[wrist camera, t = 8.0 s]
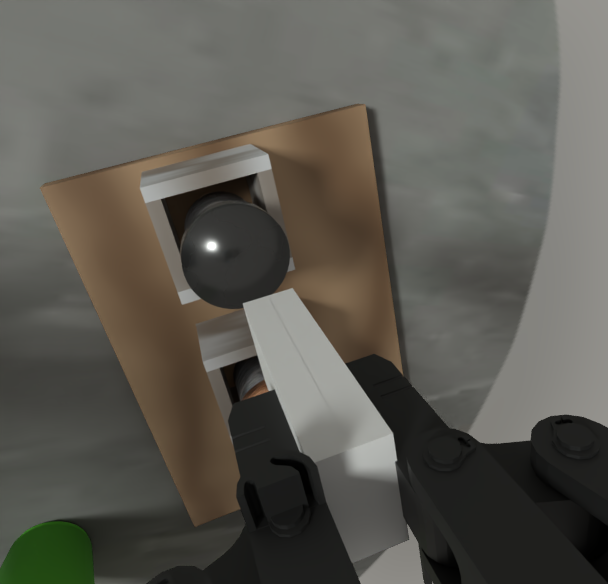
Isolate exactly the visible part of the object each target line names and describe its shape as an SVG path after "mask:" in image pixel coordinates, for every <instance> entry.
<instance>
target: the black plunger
mask: <svg viewBox="0 0 608 584" xmlns="http://www.w3.org/2000/svg"><path fill="white" fill-rule="evenodd" d="M184 230H185V232H184V234H183V237H182V241H181V247H180V257H181V264H182V269H183V273H184V276H185V279H186V281H187V283H188V285H189V286H190V288H191V289H192V290H193V291H194V293H195V294H196V295H197V296H199V297H200V298H201V299H202V300H204V301H205V302H207V303H209V304H211V305H214V306H216V307H220V308H225V309H242V308H244V307H243V303H246V302H249V301H252V300H255V299H259V298H262V297H265V296H268V295H272V294H273V293H274V292H275V291H276V290H277V289H278V288H279V286H280V285H281V283H282V282H283V280H284V278H285V276H286V273H287V271H288V267H289V262H290V249H289V243H288V240H287V237H286V235H285V233H284V231H283V230H282V228H281V226H280V225H279V224H278V223H277V222H276V221H275V220H274V218H273V217H272V216H271V215H270V214H268V213H267V212H266V211H265V210H263V209H262V208H260V207H259V206H257V205H254V204H252V203H249V202H246V201H245V200H244V199H243V198H241V197H240V196H238V195H236V194H233V193H230V192H222V191H220V192H212V193H209V194H206V195H204V196H202V197H201V198H199V199H198V200H197V201H196V202H194V204H193V205H192V206H191V207H190V209H189V211H188V213H187V215H186V218H185V223H184Z"/></svg>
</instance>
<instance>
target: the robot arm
mask: <svg viewBox="0 0 608 584" xmlns="http://www.w3.org/2000/svg"><path fill="white" fill-rule="evenodd" d="M243 307H244V310H245V314H246V317H247V321H248V324H249V328H250V331H251V335H252V338H253V341H254V345H255V348H256V352H257V355H258V359H259V362H260V366H261V369H262V373H263V376H264V380H265V382H266V385H267V388H268V390H269V391H268V392H266V393H263V394H260V395H257V396H254V397H251V398H248V399H245V400H242V401H239V402H237V403H234V404H233V406H232V409H231V412H230V415H229V418H228V424H229V428H230V433H231V437H232V442H233V446H234V451H235V455H236V460H237V464H238V469H239V473H240V479H239V481H238V483H237V490H236V498H237V501H238V504H239V506H240V509H241V512H242V514H243V517H244V520H245V522H246V523H245V527H244V529H243V531H242V533H241V535H240V537H239V538H238V540H237V541H236V542H235V544H234V545H233V546H232V547H231V548H230V549H229V550H228V551H227V552H226V553H225V554H224V555H223V556H221V557H220V558H219V559H217V560H216V561H215V562H213V563H212V564H211V565H209V566H208V567H207V568H206V569H204V570H203V571H202V570H200V569H198V568H196V567H195V566H177V567H175V568H172V569H169V570H166V571H164V572H162V573H160V574H159V575H157V576H156V577H155V578H153V579H152V580H151V581H149V582H148V583H146V584H360V581H359V579H358V576H357V574H356V572H355V569H354V567H353V565H352V564H353V563H355V562H357V561H360V560H362V559H364V558H367V557H369V556H371V555H374V554H376V553H379V552H381V551H383V550H386V549H388V548H390V547H393V546H395V545H398V544H400V543H402V542H405V541H407V540H409V535H408V529H407V524H408V525H409V527H410V529H411V530H412V532H413V534H414V536H415V537H416V539H417V541H418V543H419V550H420V558H421V565H422V572H423V579H424V583H425V584H432V582H433V583H434V584H608V428H607V427H605V426H603V425H601V424H600V423H597V422H594V421H592V420H589V419H587V418H584V417H579V416H572V415H559V416H550V417H548V418H546V419H544V420H541V421H539V422H538V423H537V424H536V425H535V427H534V428H533V429H532V433H531V441H522V442H511V443H501V444H485V443H480V442H478V441H477V440H476V439H474V438H473V437H472V436H470V435H469V434H467V433H465V432H462V431H459V430H456V429H450V428H449V427H448V426H447V425H446V424H445V423H444V422H443V421H442V420H441V418H440V417H439V416H438V415H437V414H436V413H435V411H434V410H433V409H432V408H431V407H430V406H429V405H428V403H427V402H426V401H425V400H424V399H423V398H422V396H421V395H420V394H419V393H418V392H417V391H416V390H415V388H414V387H413V388H412V385H411V384H410V383H409V381H408V380H407V379H406V378H405V377H403V375H402V373H401V372H400V371H399V370H398V369H397V368H396V366H395V365H394V364H393V363H392V362H391V361H389V360H387V359H385V358H382V357H380V356H378V355H376V354H372V355H369V356H366V357H363V358H360V359H357V360H354V361H351V362H348V363H344V362H343V360H342V359H341V357H340V356H339V354H338V353H337V352H336V350H335V349H334V347H333V346H332V344H331V343H330V341H329V340H328V339H327V337H326V336H325V334H324V333H323V331H322V330H321V328H320V327H319V326H318V324H317V323H316V321H315V320H314V318H313V317H312V315H311V314H310V313H309V311H308V310H307V308H306V307H305V305H304V304H303V302H302V301H301V300H300V298H299V297H298V295H297V294H296V292H295V291H294V289H293V288H291V289H288V290H285V291H281V292H278V293H275V294H272V295H268V296H265V297H262V298H259V299H255V300H252V301H249V302H246V303H243Z"/></svg>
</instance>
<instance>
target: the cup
mask: <svg viewBox="0 0 608 584" xmlns="http://www.w3.org/2000/svg"><path fill="white" fill-rule="evenodd" d="M0 584H94V569H93V554H92V544H91V541H90V539H89V537H88V535H87V533H86V532H85V531H84V530H83V529H82V528H80V527H79V526H77V525H75V524H72V523H69V522H62V521H54V522H47V523H42V524H39V525H36V526H34V527H32V528H30V529H28V530H27V531H25V532H24V533H23V534H22V535H21V536H20V537H19V538H18V539H17V540H16V541H15V542H14V544H13V545H12V547H11V548H10V550H9V552H8V554H7V556H6V558H5V560H4V562H3V564H2V566H1V568H0Z"/></svg>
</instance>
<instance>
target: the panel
mask: <svg viewBox="0 0 608 584" xmlns="http://www.w3.org/2000/svg"><path fill="white" fill-rule="evenodd" d="M40 189H41V191H42V193H43V196H44V198H45V200H46V202H47V204H48V207H49V209H50V211H51V213H52V215H53V218H54V220H55V222H56V224H57V226H58V229H59V231H60V233H61V235H62V237H63V239H64V242H65V244H66V246H67V248H68V250H69V253H70V255H71V257H72V259H73V261H74V264H75V266H76V268H77V270H78V272H79V275H80V277H81V279H82V281H83V283H84V286H85V288H86V290H87V292H88V294H89V296H90V299H91V301H92V303H93V305H94V307H95V310H96V312H97V314H98V316H99V318H100V321H101V323H102V325H103V327H104V329H105V332H106V334H107V336H108V338H109V340H110V342H111V345H112V347H113V349H114V351H115V353H116V356H117V358H118V360H119V362H120V364H121V367H122V369H123V371H124V373H125V375H126V378H127V380H128V382H129V384H130V386H131V388H132V391H133V393H134V395H135V397H136V399H137V402H138V404H139V406H140V408H141V410H142V413H143V415H144V417H145V419H146V421H147V424H148V426H149V428H150V430H151V432H152V435H153V437H154V439H155V441H156V443H157V445H158V448H159V450H160V452H161V454H162V456H163V459H164V461H165V463H166V465H167V467H168V470H169V472H170V474H171V476H172V478H173V481H174V483H175V485H176V487H177V489H178V491H179V494H180V496H181V498H182V500H183V502H184V505H185V507H186V509H187V511H188V513H189V516H190V518H191V520H192V522H193V524H194V527H196V526H199V525H201V524H204V523H206V522H209V521H211V520H214V519H217V518H219V517H222V516H224V515H227V514H229V513H232V512H234V511H237V510H239V509H240V506H239V504H238V501H237V498H236V490H237V483H238V481H239V479H240V473H239V469H238V464H237V460H236V455H235V451H234V446H233V442H232V437H231V433H230V428H229V424H228V418H229V415H230V412H231V409H232V406H233V404H234V403H237V402H239V401H240V399H239V396H238V392H237V389H236V385H235V381H234V376H233V373H234V367H235V365H236V363H237V362H239V361H242V360H244V359H247V358H250V357H253V356H256V355H257V352H256V348H255V345H254V341H253V338H252V335H251V331H250V328H249V324H248V321H247V317H246V314H245V310H244V308H242V309H225V308H220V307H216V306H214V305H211V304H209V303H207V302H205V301H204V300H202V299H201V298H200V297H199V296H197V295H196V294H195V293H194V291H193V290H192V289H191V288H190V286H189V285H188V283H187V281H186V279H185V276H184V273H183V269H182V264H181V257H180V247H181V241H182V237H183V234H184V232H185V230H184V223H185V218H186V215H187V213H188V211H189V209H190V207H191V206H192V205H193V204H194V202H196V201H197V200H198V199H199V198H201V197H202V196H204V195H206V194H209V193H212V192H220V191H222V192H230V193H233V194H236V195H238V196H240V197H241V198H243V199H244V200H245V201H246V202H249V203H252V204H254V205H257V206H259V207H260V208H262V209H263V210H265V211H266V212H267V213H268V214H270V215H271V216H272V217H273V218H274V220H275V221H276V222H277V223H278V224H279V225H280V226H281V228H282V230H283V231H284V233H285V235H286V237H287V240H288V243H289V249H290V262H289V267H288V271H287V273H286V276H285V278H284V280H283V282H282V283H281V285H280V286H279V288H278V289H277V290H276V291H275V292H274V293H273V294H275V293H278V292H281V291H285V290H288V289H291V288H293V289H294V291H295V292H296V294H297V295H298V297H299V298H300V300H301V301H302V302H303V304H304V305H305V307H306V308H307V310H308V311H309V313H310V314H311V315H312V317H313V318H314V320H315V321H316V323H317V324H318V326H319V327H320V328H321V330H322V331H323V333H324V334H325V336H326V337H327V339H328V340H329V341H330V343H331V344H332V346H333V347H334V349H335V350H336V352H337V353H338V354H339V356H340V357H341V359H342V360H343V362H344V363H348V362H351V361H354V360H357V359H360V358H363V357H366V356H369V355H372V354H376V355H378V356H380V357H382V358H385V359H387V360H389V361H391V362H392V363H393V364H394V365H395V366H396V368H397V369H398V370H399V371H400V372H401V373H402V375H403V371H402V364H401V356H400V349H399V342H398V335H397V328H396V321H395V313H394V306H393V299H392V292H391V285H390V277H389V270H388V263H387V256H386V249H385V242H384V234H383V227H382V220H381V213H380V206H379V198H378V191H377V184H376V177H375V170H374V163H373V155H372V148H371V141H370V134H369V127H368V119H367V112H366V105H365V104H355V105H351V106H347V107H343V108H339V109H335V110H331V111H327V112H323V113H319V114H316V115H312V116H308V117H304V118H300V119H296V120H292V121H288V122H284V123H280V124H276V125H272V126H268V127H265V128H261V129H257V130H253V131H249V132H245V133H241V134H237V135H233V136H229V137H225V138H221V139H218V140H214V141H210V142H206V143H202V144H198V145H194V146H190V147H186V148H182V149H178V150H174V151H170V152H167V153H163V154H159V155H155V156H151V157H147V158H143V159H139V160H135V161H131V162H127V163H123V164H120V165H116V166H112V167H108V168H104V169H100V170H96V171H92V172H88V173H84V174H80V175H76V176H73V177H69V178H65V179H61V180H57V181H53V182H49V183H45V184H44V185H42V186H41V187H40Z"/></svg>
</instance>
